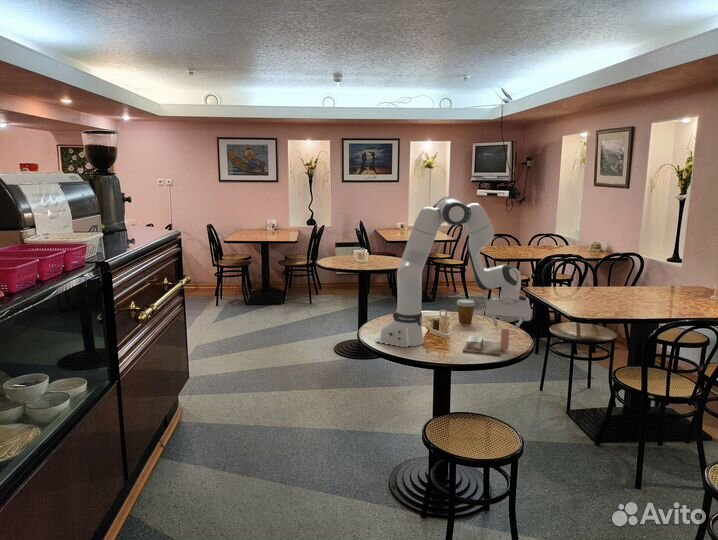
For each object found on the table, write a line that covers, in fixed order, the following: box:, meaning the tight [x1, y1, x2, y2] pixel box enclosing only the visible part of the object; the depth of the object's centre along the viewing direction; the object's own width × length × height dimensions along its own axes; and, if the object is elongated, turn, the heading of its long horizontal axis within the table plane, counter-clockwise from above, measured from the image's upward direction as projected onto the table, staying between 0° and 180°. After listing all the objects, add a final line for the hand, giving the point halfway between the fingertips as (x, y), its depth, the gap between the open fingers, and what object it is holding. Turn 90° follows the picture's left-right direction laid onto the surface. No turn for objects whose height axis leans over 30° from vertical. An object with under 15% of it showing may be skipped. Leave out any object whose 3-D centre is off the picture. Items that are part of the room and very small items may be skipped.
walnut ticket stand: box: [462, 335, 503, 357], centre depth 229 cm, size 16×16×4 cm
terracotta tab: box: [500, 328, 510, 351], centre depth 225 cm, size 3×5×8 cm, turn 160°
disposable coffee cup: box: [456, 298, 476, 325], centre depth 268 cm, size 10×10×12 cm
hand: (506, 326), depth 230 cm, fingers open, 8 cm apart
